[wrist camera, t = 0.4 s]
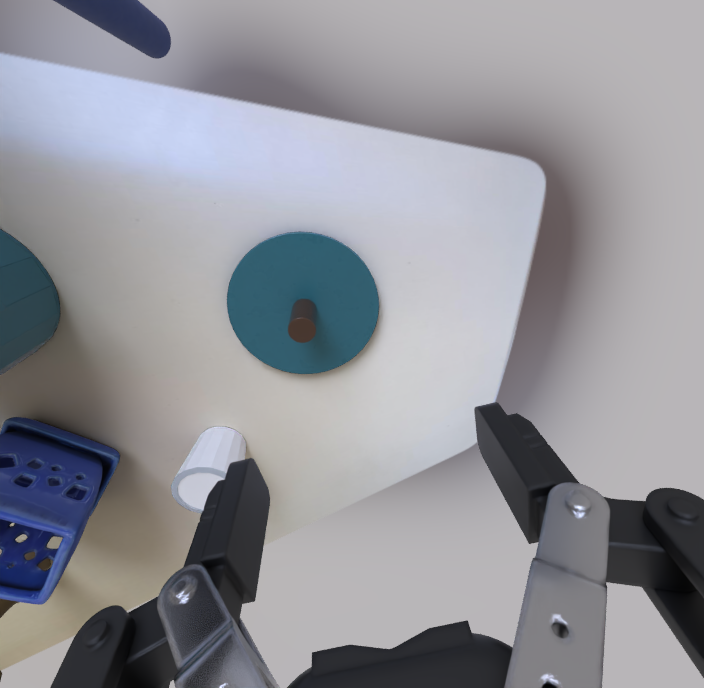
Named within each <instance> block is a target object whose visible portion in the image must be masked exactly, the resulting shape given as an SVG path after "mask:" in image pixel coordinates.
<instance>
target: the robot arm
mask: <svg viewBox="0 0 704 688" xmlns="http://www.w3.org/2000/svg"><path fill="white" fill-rule="evenodd" d="M475 421H476V431H477V441H478V445H479V449H480V452H481V454H482V456H483V459H484V460H485V462H486V464H487V466H488V468H489V470H490V471H491V474H492V475H493V477H494V479H495V481H496V483H497V485H498V486H499V488H500V490H501V492H502V494H503V496H504V498H505V500H506V502H507V503H508V505H509V507H510V509H511V511H512V513H513V515H514V516H515V518H516V520H517V522H518V524H519V526H520V528H521V530H522V531H523V533H524V535H525V537H526V539H527V541H528V543H529V544H531V543H536V542H539V543H538V548H537V553H536V556H535V558H533V560H532V563H531V566H530V571H529V576H528V580H527V585H526V590H525V594H524V599H523V603H522V608H521V613H520V617H519V622H518V627H517V631H516V636H515V641H514V645H513V648H512V647H510V646H509V645H507V644H505V643H503V642H501V641H499V640H497V639H494V638H491V637H489V636H485V635H481V634H474V633H471V630H470V627H469V624H468V621H463V622H458V623H453V624H448V625H444V626H438V627H433V628H429V629H427V630H425V631H424V632H422V633H420V634H418V635H416V636H415V637H413V638H411V639H409V640H407V641H406V642H404V643H402V644H400V645H399V646H397V647H395V648H392V649H381V648H373V647H364V646H356V645H346V646H342V647H336V648H332V649H327V650H322V651H317V652H313V653H312V667H311V668H309V669H307V670H306V671H305V672H303V673H302V674H301V675H299V676H298V677H297V678H296V679H295V680H294V681H293V682H292V683H291V684H290V685H289V686H288V687H287V688H602V675H603V657H604V639H605V621H606V603H607V586H606V582H610V583H617V584H625V585H632V586H640V587H642V588H643V589H644V591H645V592H646V593H647V595H648V597H649V598H650V599H651V601H652V602H653V604H654V605H655V607H656V608H657V610H658V611H659V613H660V614H661V616H662V617H663V619H664V620H665V622H666V623H667V624H668V626H669V628H670V629H671V631H672V632H673V633H674V635H675V636H676V638H677V639H678V641H679V642H680V644H681V645H682V646H683V648H684V649H685V651H686V653H687V654H688V655H689V657H690V658H691V660H692V661H693V663H694V664H695V666H696V667H697V669H698V670H699V671H700V673H701V675H702V676H703V678H704V500H703V499H701V498H700V497H698V496H696V495H694V494H692V493H689V492H686V491H684V490H680V489H674V488H660V489H656V490H654V491H652V492H651V493H649V495H648V496H647V498H646V501H632V500H631V501H630V500H617V499H610V498H606V497H603V496H602V495H601V494H599V493H598V492H597V491H595V490H594V489H592V488H590V487H588V486H586V485H583V484H580V483H579V482H578V481H577V480H576V479H575V477H574V476H573V475H572V474H571V472H570V471H569V470H568V468H567V467H566V466H565V464H564V463H563V462H562V461H561V459H560V458H559V457H558V456H557V454H556V453H555V452H554V451H553V449H552V448H551V447H550V446H549V445H548V444H547V442H546V441H545V439H544V438H543V437H542V435H540V433H539V432H538V430H537V429H536V428H535V426H534V425H533V424H532V423H531V422H530V421H529V420H527V419H525V418H524V417H522V416H521V415H519V414H517V413H516V414H512V415H507V414H506V413H505V412H504V410H503V409H502V408H501V406H500V405H499V404H498V403H497V402H495V403H491V404H486V405H482V406H478V407H475ZM269 506H270V496H269V490H268V487H267V485H266V483H265V481H264V479H263V477H262V475H261V473H260V471H259V468H258V466H257V464H256V462H255V461H254V459H252V458H249V459H245V460H241V461H236V462H232V463H230V465H229V467H228V470H227V473H226V477H225V479H224V480H220V481H218V482H217V483H216V484H215V486H214V487H213V489H212V490H211V491H210V493H209V494H208V497H207V500H206V503H205V506H204V511H202V514H201V517H200V522H199V523H198V526H197V529H196V532H195V535H194V538H193V541H192V544H191V547H190V550H189V553H188V555H187V558H186V561H185V564H184V567H183V568H182V569H180V570H179V571H177V572H176V573H175V574H174V575H172V576H171V577H170V578H169V580H168V581H167V582H166V583H165V585H164V586H163V588H162V590H161V592H160V594H159V596H158V597H156V598H154V599H153V600H151V601H149V602H147V603H145V604H143V605H142V606H140V607H138V608H136V609H134V610H132V611H131V612H129V613H127V612H126V611H125V610H124V608H122V607H121V606H110V607H107V608H105V609H103V610H101V611H99V612H98V613H96V614H95V615H94V616H92V617H91V618H90V619H89V620H88V621H87V622H86V623H85V624H84V625H83V626H82V628H81V629H80V630H79V631H78V633H77V634H76V636H75V638H74V640H73V641H72V644H71V646H70V648H69V650H68V652H67V654H66V656H65V658H64V660H63V662H62V664H61V667H60V669H59V671H58V673H57V675H56V677H55V679H54V681H53V683H52V685H51V688H169V685H170V681H172V680H174V683H175V687H176V688H280V687H279V685H278V684H277V682H276V681H275V679H274V678H273V676H272V674H271V673H270V671H269V669H268V667H267V665H266V664H265V662H264V660H263V658H262V656H261V654H260V653H259V651H258V649H257V647H256V645H255V643H254V642H253V640H252V638H251V636H250V634H249V633H248V631H247V629H246V627H245V625H244V623H243V622H242V620H241V618H240V613H241V607H242V604H244V603H249V602H254V601H255V597H256V591H257V584H258V578H259V571H260V565H261V558H262V552H263V545H264V539H265V532H266V526H267V519H268V513H269Z"/></svg>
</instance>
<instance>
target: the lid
mask: <svg viewBox="0 0 704 688" xmlns="http://www.w3.org/2000/svg"><path fill="white" fill-rule="evenodd" d="M227 307H228V314H229V318H230V322H231V324H232V327H233V330H234V331H235V333H236V335H237V337H238V338H239V340H240V341H241V343H242V344H243V345H244V346H245V347H246V349H247V350H248V351H249V352H250V353H252V354H253V355H254V356H255V357H256V358H258V359H259V360H261V361H262V362H264V363H265V364H267V365H269V366H271V367H274V368H276V369H279V370H282V371H286V372H290V373H298V374H312V373H320V372H325V371H328V370H331V369H334V368H337V367H339V366H341V365H343V364H345V363H346V362H348V361H349V360H351V359H352V358H353V357H355V356H356V355H357V354H358V353H359V352H360V351H361V350H362V349H363V348H364V346H365V345H366V344H367V342H368V341H369V339H370V337H371V336H372V334H373V331H374V329H375V326H376V323H377V319H378V312H379V298H378V292H377V288H376V285H375V282H374V279H373V277H372V275H371V273H370V271H369V269H368V268H367V266H366V265H365V263H364V262H363V261H362V260H361V258H360V257H359V256H358V255H357V254H356V253H355V252H354V251H352V250H351V249H350V248H349V247H347V246H346V245H344V244H343V243H341V242H339V241H337V240H335V239H333V238H331V237H328V236H325V235H322V234H317V233H312V232H290V233H285V234H280V235H277V236H274V237H271V238H269V239H267V240H265V241H263V242H261V243H259V244H258V245H257V246H255V247H254V248H253V249H251V250H250V251H249V252H248V253H247V254H246V255H245V256H244V257H243V259H242V260H241V261H240V263H239V264H238V266H237V267H236V269H235V271H234V273H233V275H232V278H231V280H230V283H229V288H228V294H227Z"/></svg>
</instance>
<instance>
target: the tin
mask: <svg viewBox="0 0 704 688" xmlns="http://www.w3.org/2000/svg"><path fill="white" fill-rule="evenodd" d="M59 318H60V303H59V297H58V294H57V291H56V288H55V286H54V283H53V281H52V279H51V277H50V276H49V274H48V272H47V271H46V269H45V268H44V267H43V265H42V264H41V263H40V261H39V260H38V259H37V258H36V257H35V256H34V255H33V254H32V253H31V252H30V251H29V250H28V249H27V248H26V247H25V246H24V245H23V244H22V243H20V242H19V241H18V240H16V239H15V238H14V237H12V236H11V235H9V234H8V233H6V232H4V231H3V230H1V229H0V375H2V374H3V373H5V372H6V371H8V370H9V369H11V368H12V367H14V366H15V365H17V364H18V363H20V362H21V361H23V360H24V359H25V358H27V357H28V356H30V355H31V354H33V353H34V352H36V351H37V350H38V349H39V348H40V347H41V346H42V345H44V344H45V343H46V342H47V341H48V340H49V339H50V338H51V337H52V336H53V334H54V332H55V331H56V329H57V326H58V323H59Z"/></svg>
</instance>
